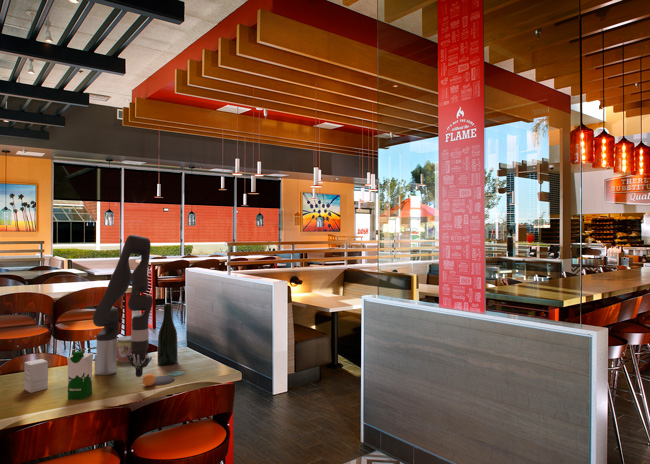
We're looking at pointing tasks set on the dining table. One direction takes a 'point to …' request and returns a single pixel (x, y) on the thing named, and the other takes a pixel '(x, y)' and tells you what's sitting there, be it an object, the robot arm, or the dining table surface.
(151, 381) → the ball
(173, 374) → the disc
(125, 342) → the canned food
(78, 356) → the milk carton
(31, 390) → the supplement box
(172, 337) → the dark green wine bottle
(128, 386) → the dining table surface
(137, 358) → the robot arm
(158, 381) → the disc
